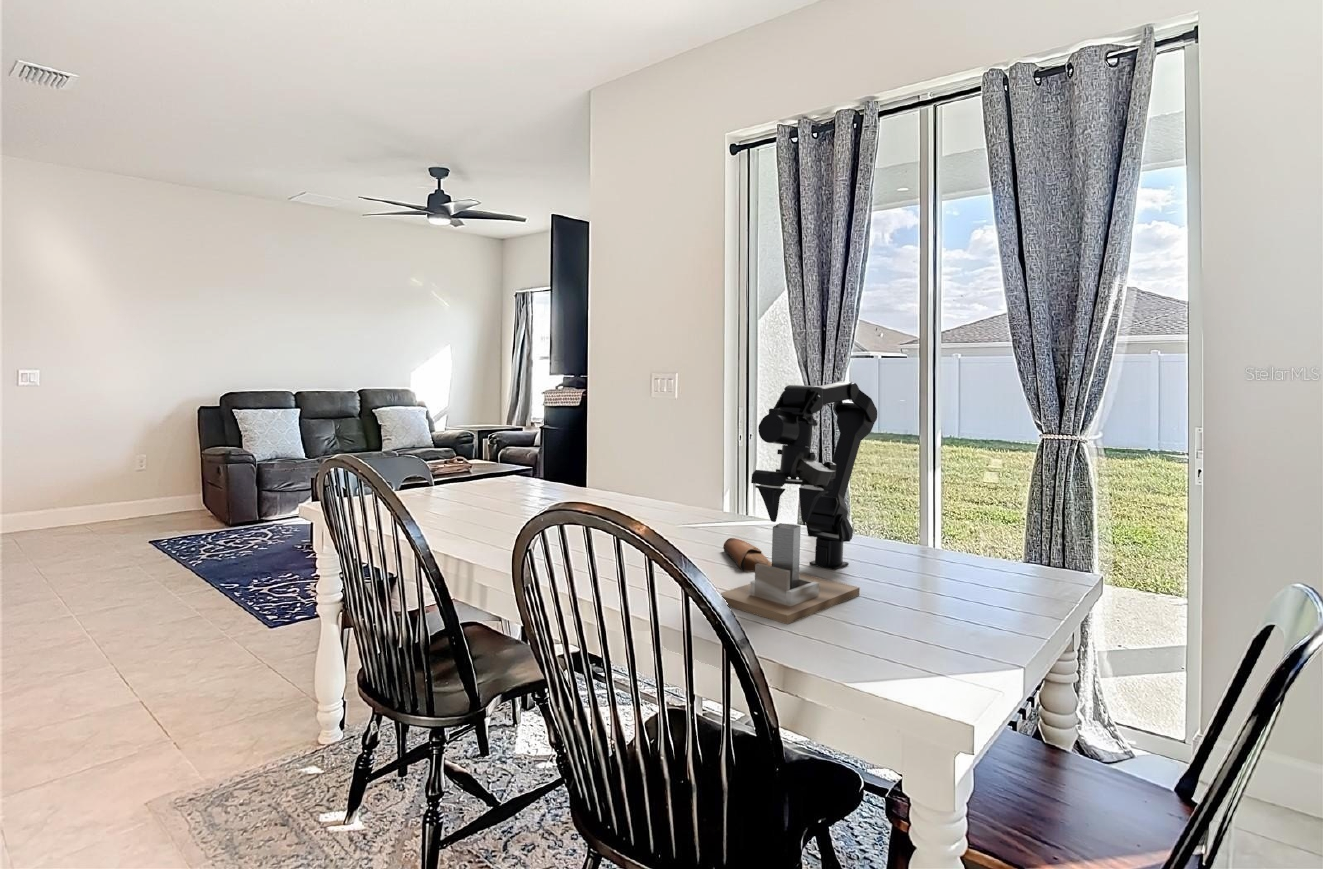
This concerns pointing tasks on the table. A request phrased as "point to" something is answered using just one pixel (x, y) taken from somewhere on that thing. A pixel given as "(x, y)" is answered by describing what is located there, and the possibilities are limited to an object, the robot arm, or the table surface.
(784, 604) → the keeper board
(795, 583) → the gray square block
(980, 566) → the table surface
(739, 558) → the sunglasses case
